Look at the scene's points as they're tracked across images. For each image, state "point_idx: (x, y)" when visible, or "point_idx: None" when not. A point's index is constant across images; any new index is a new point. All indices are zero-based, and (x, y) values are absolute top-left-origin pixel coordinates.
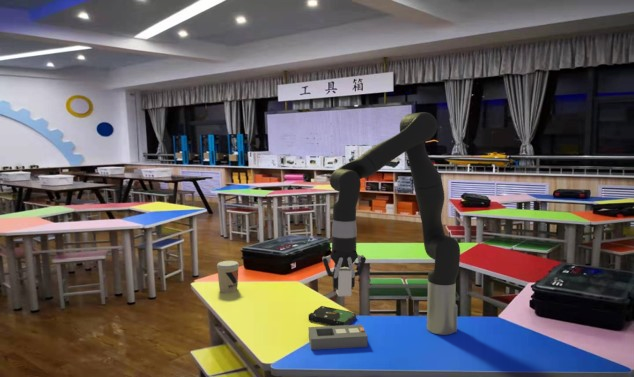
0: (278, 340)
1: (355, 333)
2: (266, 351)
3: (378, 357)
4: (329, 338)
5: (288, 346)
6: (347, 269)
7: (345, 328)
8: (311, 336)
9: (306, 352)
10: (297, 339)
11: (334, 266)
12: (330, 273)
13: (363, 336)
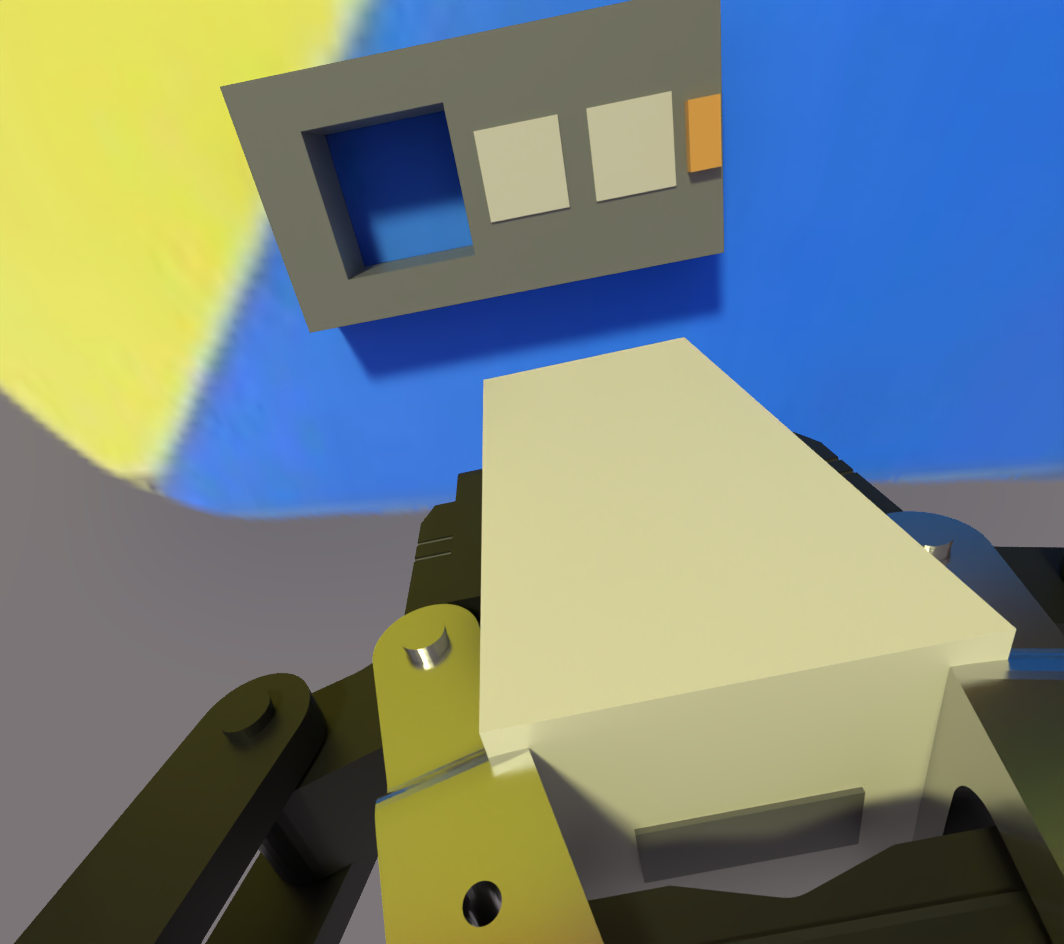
0: (38, 175)
1: (639, 206)
2: (48, 354)
3: (736, 377)
4: (441, 306)
5: (160, 273)
6: (851, 848)
7: (562, 100)
8: (300, 286)
9: (309, 349)
10: (180, 147)
11: (400, 889)
12: (342, 880)
13: (693, 257)
